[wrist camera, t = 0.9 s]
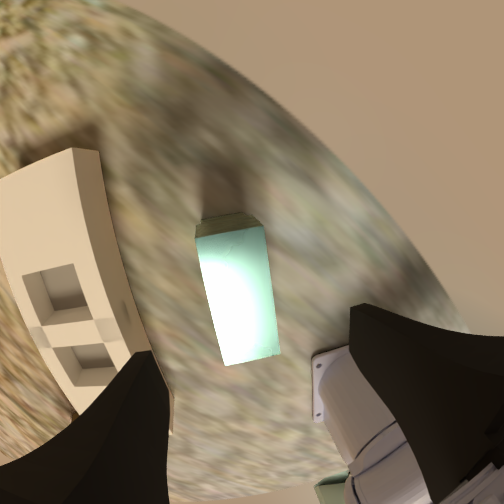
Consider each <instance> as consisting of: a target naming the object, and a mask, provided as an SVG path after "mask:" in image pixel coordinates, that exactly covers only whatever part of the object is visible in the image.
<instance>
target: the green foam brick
mask: <svg viewBox="0 0 504 504" xmlns="http://www.w3.org/2000/svg"><path fill="white" fill-rule="evenodd" d="M195 242H196V247H197V252H198V256H199V261H200V266H201V270H202V275H203V279H204V283H205V288H206V292H207V296H208V301H209V305H210V309H211V313H212V317H213V321H214V325H215V329H216V333H217V337H218V341H219V345H220V348H221V352H222V356H223V360H224V363H225V366H227V365H232V364H237V363H242V362H247V361H251V360H256V359H261V358H265V357H269V356H274V355H278V354H280V347H279V339H278V331H277V323H276V315H275V307H274V300H273V292H272V284H271V277H270V269H269V262H268V254H267V247H266V240H265V232H264V226H263V225H262V224H261V223H260V222H259V221H258V220H257V219H256V218H255V217H254V216H253V215H247V216H246V215H245V214H244V213H243V212H240V213H235V214H229V215H224V216H218V217H213V218H208V219H202V220H201V224H199V225H196V232H195Z"/></svg>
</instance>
